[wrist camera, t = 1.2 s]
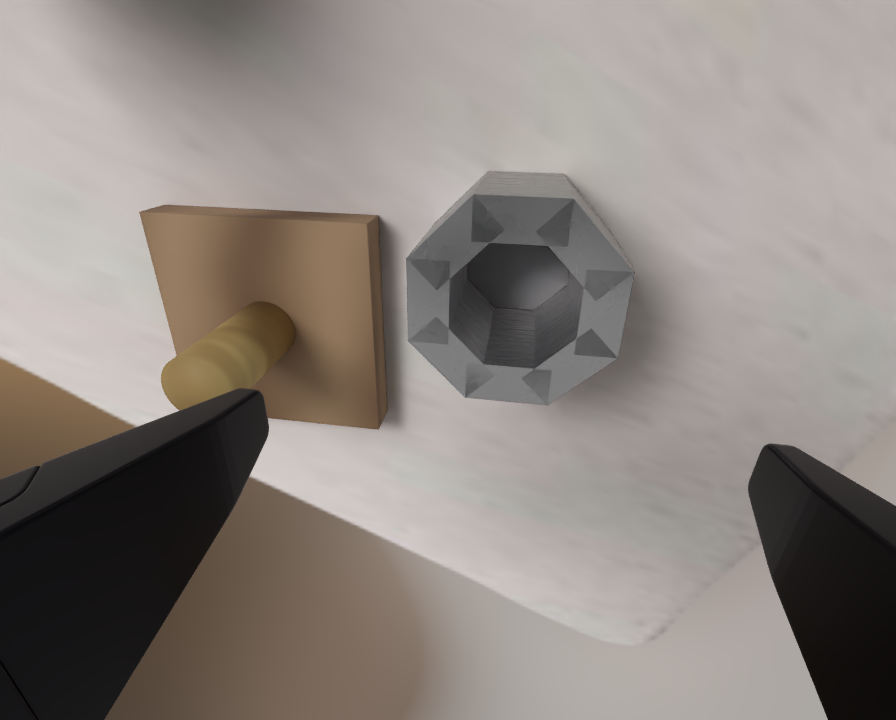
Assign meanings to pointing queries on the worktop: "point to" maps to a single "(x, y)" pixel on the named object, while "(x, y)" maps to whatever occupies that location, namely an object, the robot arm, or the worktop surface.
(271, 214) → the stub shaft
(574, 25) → the worktop surface
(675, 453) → the worktop surface
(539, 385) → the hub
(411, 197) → the worktop surface
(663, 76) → the worktop surface
